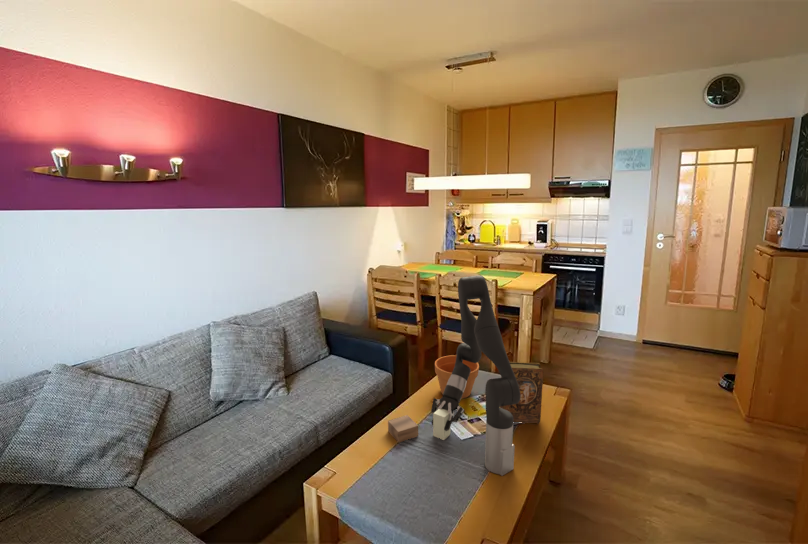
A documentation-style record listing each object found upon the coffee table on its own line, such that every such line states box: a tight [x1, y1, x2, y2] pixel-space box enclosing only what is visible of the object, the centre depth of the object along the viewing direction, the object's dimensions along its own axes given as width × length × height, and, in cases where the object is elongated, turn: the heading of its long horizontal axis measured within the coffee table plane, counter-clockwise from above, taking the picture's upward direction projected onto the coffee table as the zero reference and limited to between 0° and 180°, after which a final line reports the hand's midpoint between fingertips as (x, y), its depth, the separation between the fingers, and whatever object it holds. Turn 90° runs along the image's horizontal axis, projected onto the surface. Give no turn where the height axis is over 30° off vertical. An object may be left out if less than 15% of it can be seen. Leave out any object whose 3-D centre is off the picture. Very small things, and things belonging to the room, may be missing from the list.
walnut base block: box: [387, 414, 419, 443], centre depth 166 cm, size 9×9×5 cm
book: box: [499, 361, 544, 425], centre depth 173 cm, size 16×6×25 cm, turn 84°
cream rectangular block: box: [432, 408, 451, 441], centre depth 164 cm, size 5×5×10 cm
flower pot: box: [434, 354, 480, 400], centre depth 198 cm, size 21×21×15 cm
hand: (439, 427), depth 163 cm, fingers closed on cream rectangular block, 5 cm apart
